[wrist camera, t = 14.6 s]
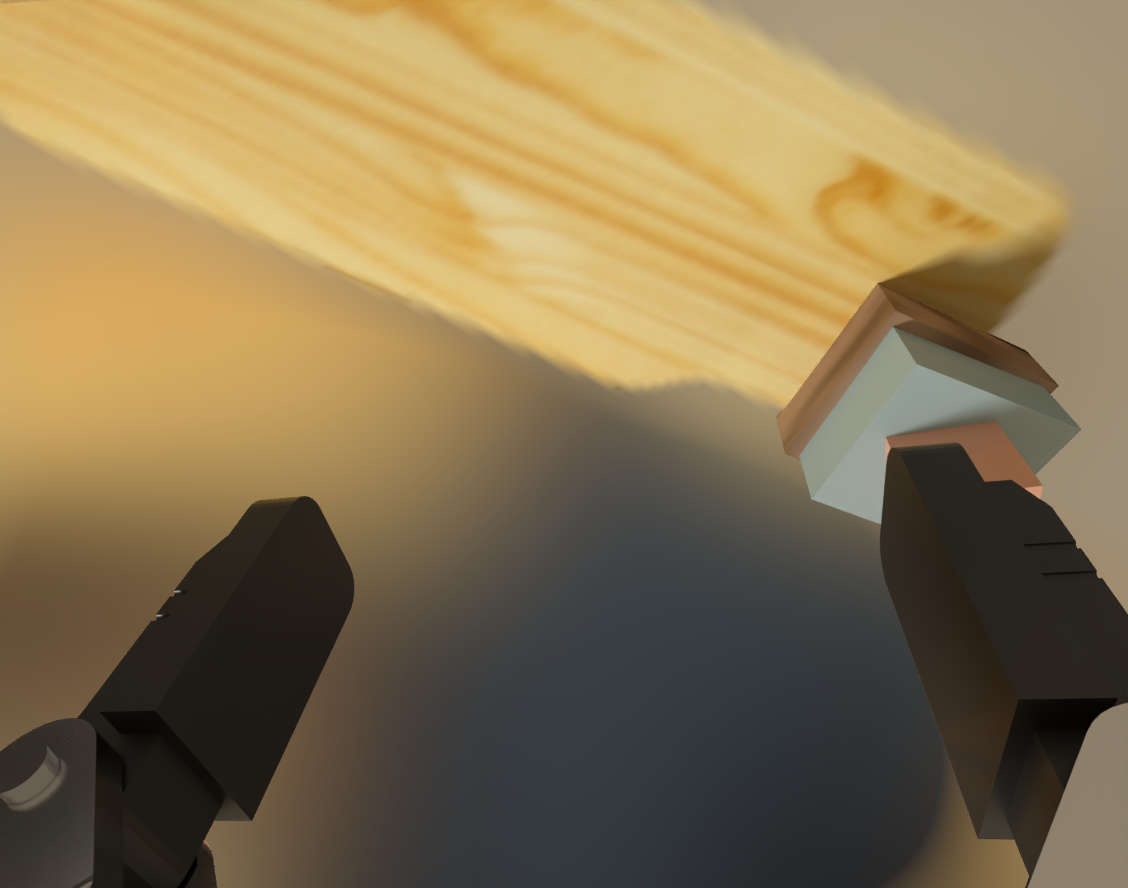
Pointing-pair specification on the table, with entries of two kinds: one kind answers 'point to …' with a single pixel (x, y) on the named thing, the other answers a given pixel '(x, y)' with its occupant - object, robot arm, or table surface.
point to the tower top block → (922, 417)
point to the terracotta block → (979, 451)
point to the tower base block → (865, 338)
